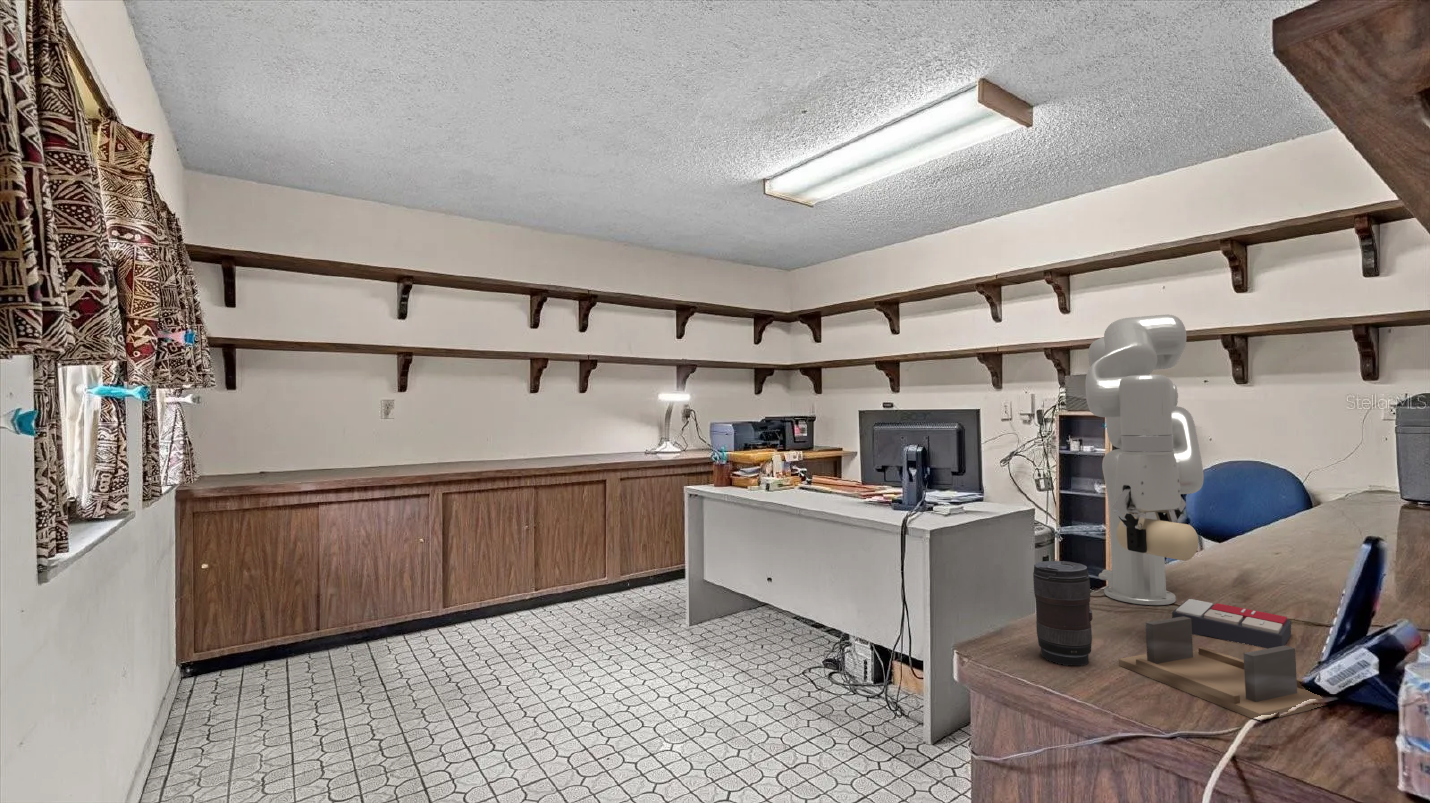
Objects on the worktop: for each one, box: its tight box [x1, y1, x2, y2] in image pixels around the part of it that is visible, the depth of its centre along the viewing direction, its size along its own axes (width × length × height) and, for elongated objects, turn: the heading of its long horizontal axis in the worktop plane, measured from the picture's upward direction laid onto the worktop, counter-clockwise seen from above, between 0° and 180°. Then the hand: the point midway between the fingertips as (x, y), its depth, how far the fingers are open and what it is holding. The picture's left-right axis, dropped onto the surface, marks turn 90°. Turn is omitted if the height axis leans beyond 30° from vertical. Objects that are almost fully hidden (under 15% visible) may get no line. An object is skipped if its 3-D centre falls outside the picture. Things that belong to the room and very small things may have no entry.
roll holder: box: [1118, 616, 1323, 719], centre depth 93 cm, size 20×14×7 cm
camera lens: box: [1032, 560, 1093, 666], centre depth 104 cm, size 8×8×15 cm
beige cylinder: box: [1117, 517, 1199, 562], centre depth 110 cm, size 10×6×6 cm
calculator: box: [1171, 598, 1292, 649], centre depth 114 cm, size 11×4×15 cm
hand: (1151, 548), depth 111 cm, fingers closed on beige cylinder, 6 cm apart
